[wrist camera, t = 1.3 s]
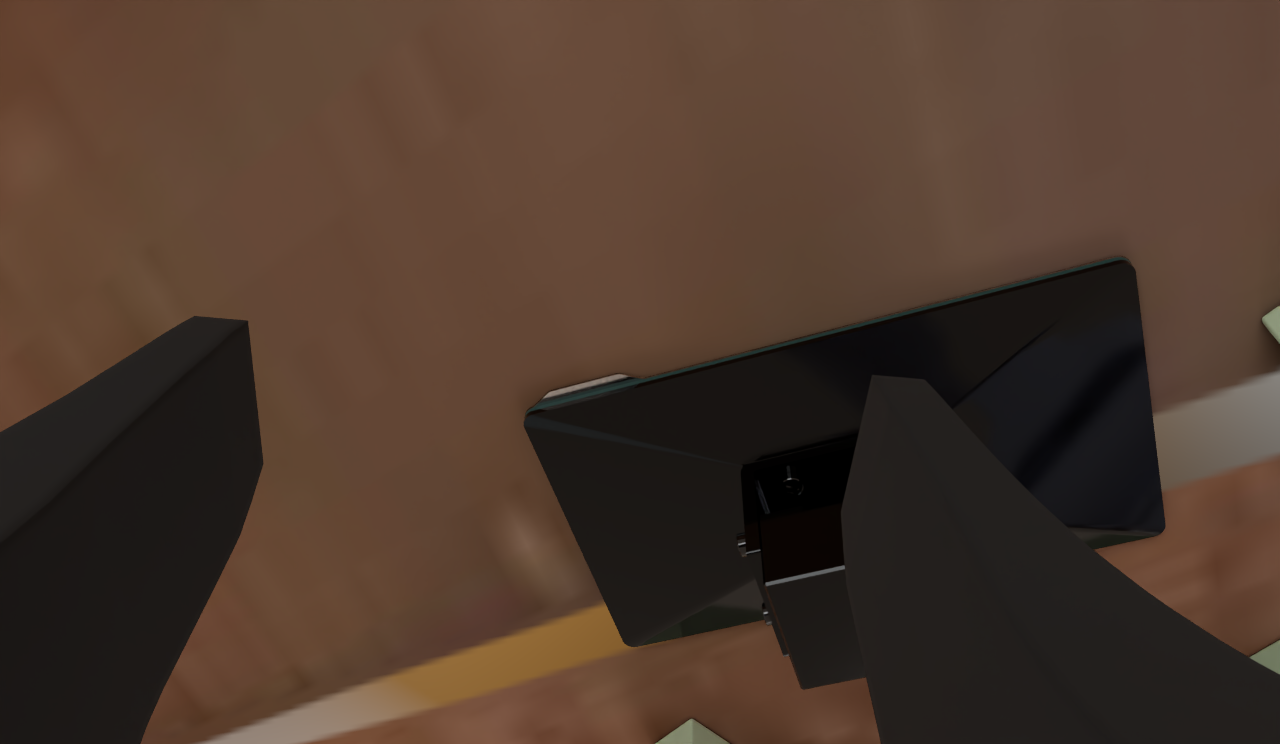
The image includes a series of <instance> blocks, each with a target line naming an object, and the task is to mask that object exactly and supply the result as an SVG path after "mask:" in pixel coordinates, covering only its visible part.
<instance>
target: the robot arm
mask: <svg viewBox="0 0 1280 744" xmlns="http://www.w3.org/2000/svg"><path fill="white" fill-rule="evenodd" d="M262 466H263V455H262V446H261V437H260V428H259V419H258V409H257V400H256V391H255V382H254V373H253V364H252V354H251V345H250V336H249V327H248V321H245V320H234V319H222V318H211V317H199V316H194V317H192V318H190V319H188V320H186V321H185V322H183V323H181V324H179V325H178V326H176V327H174V328H172V329H171V330H169V331H168V332H166V333H164V334H163V335H161V336H159V337H158V338H156V339H155V340H153V341H152V342H150V343H148V344H147V345H145V346H144V347H142V348H141V349H139V350H137V351H136V352H134V353H133V354H131V355H130V356H128V357H126V358H125V359H123V360H122V361H120V362H119V363H117V364H115V365H114V366H112V367H111V368H109V369H107V370H106V371H104V372H103V373H101V374H99V375H98V376H96V377H95V378H93V379H91V380H90V381H88V382H87V383H85V384H83V385H82V386H80V387H79V388H77V389H75V390H74V391H72V392H71V393H69V394H67V395H66V396H64V397H62V398H60V399H59V400H57V401H55V402H53V403H52V404H50V405H48V406H46V407H44V408H43V409H41V410H39V411H37V412H36V413H34V414H32V415H30V416H28V417H27V418H25V419H23V420H21V421H20V422H18V423H16V424H14V425H12V426H11V427H9V428H7V429H5V430H4V431H2V432H0V744H140V743H141V741H142V738H143V735H144V732H145V730H146V727H147V724H148V722H149V720H150V718H151V715H152V713H153V711H154V709H155V706H156V704H157V702H158V700H159V697H160V695H161V693H162V691H163V688H164V686H165V684H166V682H167V681H168V679H169V677H170V675H171V673H172V671H173V669H174V667H175V665H176V663H177V661H178V659H179V657H180V655H181V653H182V651H183V649H184V647H185V645H186V643H187V641H188V639H189V637H190V635H191V633H192V631H193V629H194V627H195V625H196V623H197V621H198V619H199V617H200V615H201V613H202V611H203V609H204V607H205V605H206V603H207V601H208V599H209V597H210V595H211V593H212V591H213V589H214V587H215V585H216V583H217V581H218V579H219V577H220V575H221V573H222V571H223V569H224V567H225V565H226V563H227V561H228V559H229V557H230V555H231V553H232V551H233V549H234V547H235V545H236V543H237V540H238V538H239V536H240V534H241V531H242V528H243V525H244V522H245V519H246V516H247V513H248V510H249V508H250V505H251V502H252V498H253V495H254V492H255V489H256V486H257V482H258V479H259V476H260V473H261V470H262ZM841 522H842V537H843V552H844V563H845V574H846V586H847V590H848V595H849V600H850V605H851V610H852V614H853V619H854V624H855V628H856V633H857V638H858V642H859V647H860V651H861V656H862V660H863V665H864V669H865V674H866V678H867V683H868V687H869V692H870V696H871V701H872V705H873V709H874V714H875V718H876V723H877V727H878V732H879V736H880V741H881V744H1280V674H1278V673H1276V672H1274V671H1272V670H1271V669H1269V668H1267V667H1265V666H1263V665H1261V664H1260V663H1258V662H1256V661H1254V660H1253V659H1251V658H1249V657H1247V656H1246V655H1244V654H1242V653H1241V652H1239V651H1237V650H1236V649H1234V648H1232V647H1230V646H1229V645H1227V644H1225V643H1224V642H1222V641H1220V640H1219V639H1217V638H1216V637H1214V636H1213V635H1211V634H1209V633H1208V632H1206V631H1205V630H1203V629H1202V628H1200V627H1199V626H1197V625H1196V624H1194V623H1193V622H1191V621H1190V620H1188V619H1186V618H1185V617H1183V616H1182V615H1180V614H1179V613H1177V612H1176V611H1174V610H1173V609H1171V608H1170V607H1168V606H1167V605H1165V604H1164V603H1162V602H1161V601H1160V600H1158V599H1157V598H1155V597H1154V596H1153V595H1151V594H1150V593H1148V592H1147V591H1145V590H1144V589H1143V588H1141V587H1140V586H1139V585H1137V584H1136V583H1135V582H1134V581H1132V580H1131V579H1130V578H1128V577H1127V576H1126V575H1125V574H1123V573H1122V572H1121V571H1119V570H1118V569H1117V568H1116V567H1114V566H1113V565H1112V564H1110V563H1109V562H1108V561H1106V560H1105V559H1104V558H1103V557H1101V556H1100V555H1099V554H1098V553H1096V552H1095V551H1094V550H1093V549H1092V548H1090V547H1089V546H1088V545H1087V544H1086V543H1084V542H1083V541H1082V540H1081V539H1080V538H1079V537H1077V536H1076V535H1075V534H1074V533H1073V532H1072V531H1071V530H1070V529H1069V528H1068V527H1066V526H1065V525H1064V524H1063V523H1062V522H1061V521H1060V520H1059V519H1058V518H1057V517H1056V516H1054V515H1053V514H1052V513H1051V512H1050V511H1049V510H1048V509H1047V508H1046V507H1045V506H1044V505H1042V504H1041V503H1040V502H1039V501H1038V500H1037V499H1036V498H1035V497H1034V496H1033V495H1032V494H1031V493H1030V492H1029V491H1028V490H1027V489H1026V488H1025V487H1024V486H1023V485H1022V484H1021V483H1020V482H1019V481H1018V480H1017V479H1016V478H1015V477H1014V476H1013V475H1012V474H1011V473H1010V472H1009V471H1008V470H1007V469H1006V468H1005V467H1004V465H1003V464H1002V463H1001V462H1000V461H999V460H998V459H997V458H996V457H995V456H994V455H993V454H992V453H991V452H990V451H989V450H988V448H987V447H986V446H985V445H984V444H983V443H982V442H981V441H980V440H979V439H978V438H977V436H976V435H975V434H974V433H973V432H972V431H971V430H970V429H969V428H968V426H967V425H966V424H965V423H964V422H963V421H962V420H961V419H960V418H959V416H958V415H957V414H956V413H955V412H954V411H953V410H952V409H951V407H950V406H949V405H948V404H947V403H946V402H945V401H944V400H943V399H942V397H941V396H940V395H939V394H938V393H937V392H936V391H935V390H934V389H933V388H932V387H931V386H930V385H929V384H928V383H927V381H926V380H924V379H914V378H903V377H891V376H880V375H872V377H871V382H870V386H869V390H868V395H867V399H866V404H865V408H864V412H863V417H862V421H861V426H860V430H859V434H858V439H857V443H856V448H855V452H854V456H853V461H852V465H851V469H850V474H849V478H848V483H847V487H846V491H845V496H844V500H843V505H842V509H841Z"/></svg>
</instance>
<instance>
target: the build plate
mask: <svg viewBox="0 0 1280 744" xmlns="http://www.w3.org/2000/svg"><path fill="white" fill-rule="evenodd" d="M872 375H880V376H891V377H903V378H914V379H924V380H926V381H927V383H928V384H929V385H930V386H931V387H932V388H933V389H934V390H935V391H936V392H937V393H938V394H939V395H940V396H941V397H942V399H943V400H944V401H945V402H946V403H947V404H948V405H949V406H950V407H951V409H952V410H953V411H954V412H955V413H956V414H957V415H958V416H959V418H960V419H961V420H962V421H963V422H964V423H965V424H966V425H967V426H968V428H969V429H970V430H971V431H972V432H973V433H974V434H975V435H976V436H977V438H978V439H979V440H980V441H981V442H982V443H983V444H984V445H985V446H986V447H987V448H988V450H989V451H990V452H991V453H992V454H993V455H994V456H995V457H996V458H997V459H998V460H999V461H1000V462H1001V463H1002V464H1003V465H1004V467H1005V468H1006V469H1007V470H1008V471H1009V472H1010V473H1011V474H1012V475H1013V476H1014V477H1015V478H1016V479H1017V480H1018V481H1019V482H1020V483H1021V484H1022V485H1023V486H1024V487H1025V488H1026V489H1027V490H1028V491H1029V492H1030V493H1031V494H1032V495H1033V496H1034V497H1035V498H1036V499H1037V500H1038V501H1039V502H1040V503H1041V504H1042V505H1044V506H1045V507H1046V508H1047V509H1048V510H1049V511H1050V512H1051V513H1052V514H1053V515H1054V516H1056V517H1057V518H1058V519H1059V520H1060V521H1061V522H1062V523H1063V524H1064V525H1065V526H1066V527H1068V528H1069V529H1070V530H1071V531H1072V532H1073V533H1074V534H1075V535H1076V536H1077V537H1079V538H1080V539H1081V540H1082V541H1083V542H1084V543H1086V544H1087V545H1088V546H1089V547H1090V548H1092V549H1098V548H1102V547H1107V546H1112V545H1117V544H1121V543H1126V542H1131V541H1135V540H1140V539H1145V538H1149V537H1154V536H1157V535H1159V534H1161V533H1162V532H1163V531H1164V529H1165V517H1164V509H1163V500H1162V492H1161V483H1160V475H1159V467H1158V458H1157V450H1156V441H1155V432H1154V424H1153V415H1152V407H1151V398H1150V390H1149V381H1148V373H1147V364H1146V356H1145V347H1144V339H1143V330H1142V322H1141V313H1140V305H1139V296H1138V288H1137V279H1136V272H1135V269H1134V267H1133V266H1132V264H1131V262H1130V261H1129V260H1128V259H1127V258H1126V257H1123V256H1114V257H1110V258H1106V259H1103V260H1099V261H1095V262H1091V263H1087V264H1083V265H1079V266H1075V267H1072V268H1068V269H1064V270H1060V271H1056V272H1052V273H1048V274H1044V275H1041V276H1037V277H1033V278H1029V279H1025V280H1021V281H1017V282H1013V283H1010V284H1006V285H1002V286H998V287H994V288H990V289H986V290H982V291H979V292H975V293H971V294H967V295H963V296H959V297H955V298H951V299H948V300H944V301H940V302H936V303H932V304H928V305H924V306H920V307H917V308H913V309H909V310H905V311H901V312H897V313H893V314H889V315H886V316H882V317H878V318H874V319H870V320H866V321H862V322H859V323H855V324H851V325H847V326H843V327H839V328H835V329H831V330H828V331H824V332H820V333H816V334H812V335H808V336H804V337H800V338H797V339H793V340H789V341H785V342H781V343H777V344H773V345H769V346H766V347H762V348H758V349H754V350H750V351H746V352H742V353H738V354H735V355H731V356H727V357H723V358H719V359H715V360H711V361H707V362H704V363H700V364H696V365H692V366H688V367H684V368H680V369H676V370H673V371H669V372H665V373H661V374H657V375H653V376H649V377H645V378H642V377H637V376H632V375H627V374H622V373H616V374H612V375H608V376H605V377H601V378H597V379H593V380H589V381H585V382H582V383H578V384H574V385H570V386H566V387H562V388H558V389H555V390H551V391H549V392H548V393H547V394H546V395H545V396H544V397H543V398H542V399H541V400H540V401H538V402H537V403H536V404H535V405H534V406H533V407H531V408H529V409H528V410H527V412H526V414H525V419H524V428H525V430H526V432H527V434H528V436H529V439H530V441H531V443H532V445H533V447H534V449H535V452H536V454H537V456H538V458H539V460H540V462H541V465H542V467H543V469H544V471H545V473H546V475H547V478H548V480H549V482H550V484H551V486H552V488H553V491H554V493H555V495H556V497H557V499H558V501H559V504H560V506H561V508H562V510H563V512H564V514H565V517H566V519H567V521H568V523H569V525H570V527H571V530H572V532H573V534H574V536H575V538H576V540H577V543H578V545H579V547H580V549H581V551H582V553H583V556H584V558H585V560H586V562H587V564H588V566H589V569H590V571H591V573H592V575H593V577H594V579H595V582H596V584H597V586H598V588H599V590H600V592H601V595H602V597H603V599H604V601H605V603H606V605H607V607H608V610H609V612H610V614H611V616H612V618H613V620H614V622H615V625H616V627H617V629H618V631H619V634H620V636H621V638H622V640H623V642H624V643H625V644H626V645H628V646H631V647H638V646H643V645H647V644H652V643H657V642H662V641H666V640H671V639H676V638H680V637H685V636H690V635H694V634H699V633H704V632H708V631H713V630H718V629H723V628H727V627H732V626H737V625H741V624H746V623H751V622H755V621H760V620H765V622H766V624H767V625H772V626H773V628H774V631H775V634H776V637H777V639H778V642H779V645H780V648H781V650H782V653H783V656H784V657H785V656H789V657H790V659H791V662H792V665H793V668H794V670H795V673H796V676H797V679H798V681H799V684H800V687H801V689H803V690H805V689H810V688H815V687H820V686H825V685H830V684H835V683H840V682H845V681H850V680H855V679H860V678H865V677H866V674H865V669H864V665H863V660H862V656H861V651H860V647H859V642H858V638H857V633H856V628H855V624H854V619H853V614H852V610H851V605H850V600H849V595H848V590H847V586H846V574H845V563H844V552H843V537H842V522H841V509H842V505H843V500H844V496H845V491H846V487H847V483H848V478H849V474H850V469H851V465H852V461H853V456H854V452H855V448H856V443H857V439H858V434H859V430H860V426H861V421H862V417H863V412H864V408H865V404H866V399H867V395H868V390H869V386H870V382H871V377H872Z"/></svg>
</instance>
